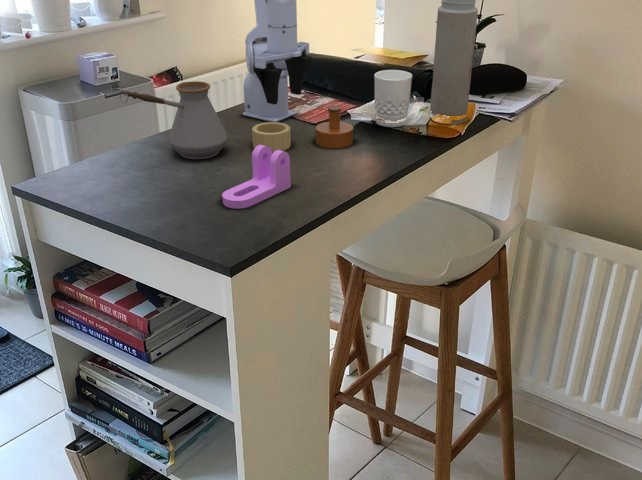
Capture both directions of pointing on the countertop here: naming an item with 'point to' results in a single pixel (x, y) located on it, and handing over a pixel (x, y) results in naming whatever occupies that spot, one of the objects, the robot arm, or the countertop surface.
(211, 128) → the coffee pot
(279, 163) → the bracket
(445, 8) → the thermos bottle
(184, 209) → the countertop surface
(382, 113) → the white cup
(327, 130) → the wooden peg base
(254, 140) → the ring
